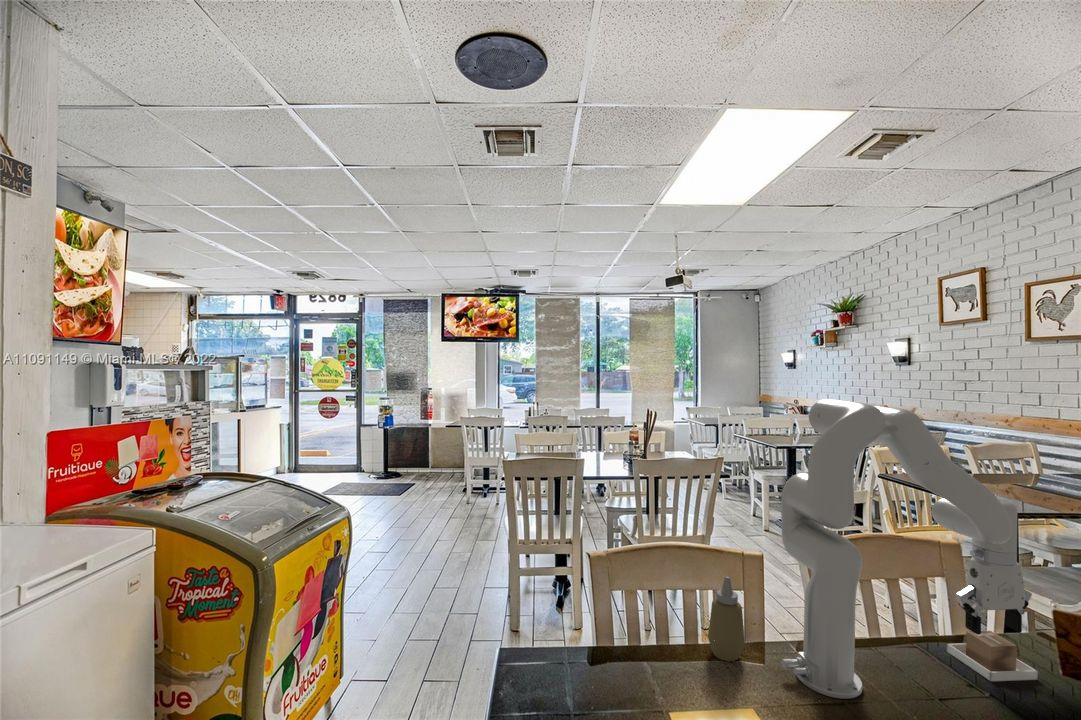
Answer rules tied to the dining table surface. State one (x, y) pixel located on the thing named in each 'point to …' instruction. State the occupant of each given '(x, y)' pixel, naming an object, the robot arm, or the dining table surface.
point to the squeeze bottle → (726, 624)
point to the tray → (1020, 674)
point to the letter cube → (991, 651)
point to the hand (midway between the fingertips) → (993, 630)
